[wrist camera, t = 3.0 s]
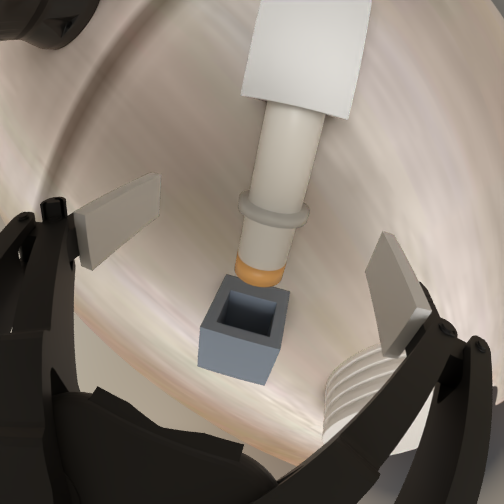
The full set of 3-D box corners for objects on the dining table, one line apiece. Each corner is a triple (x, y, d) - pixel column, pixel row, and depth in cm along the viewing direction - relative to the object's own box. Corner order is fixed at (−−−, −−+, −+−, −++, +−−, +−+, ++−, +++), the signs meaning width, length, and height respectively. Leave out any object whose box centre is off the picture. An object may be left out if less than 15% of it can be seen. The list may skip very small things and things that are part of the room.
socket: (226, 274, 38) (200, 326, 29) (289, 291, 37) (280, 349, 28) (220, 314, 42) (197, 366, 33) (276, 330, 41) (264, 385, 32)
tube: (291, -22, 16) (284, -52, 10) (357, -8, 15) (367, -36, 9) (236, 249, 32) (219, 281, 27) (291, 263, 32) (285, 299, 26)
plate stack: (375, 424, 52) (376, 463, 43) (296, 386, 48) (288, 437, 38) (473, 369, 38) (487, 412, 28) (419, 307, 34) (439, 367, 24)
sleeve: (289, -19, 17) (278, -64, 9) (360, -4, 17) (376, -44, 8) (263, 100, 26) (240, 95, 17) (335, 117, 25) (347, 120, 17)
